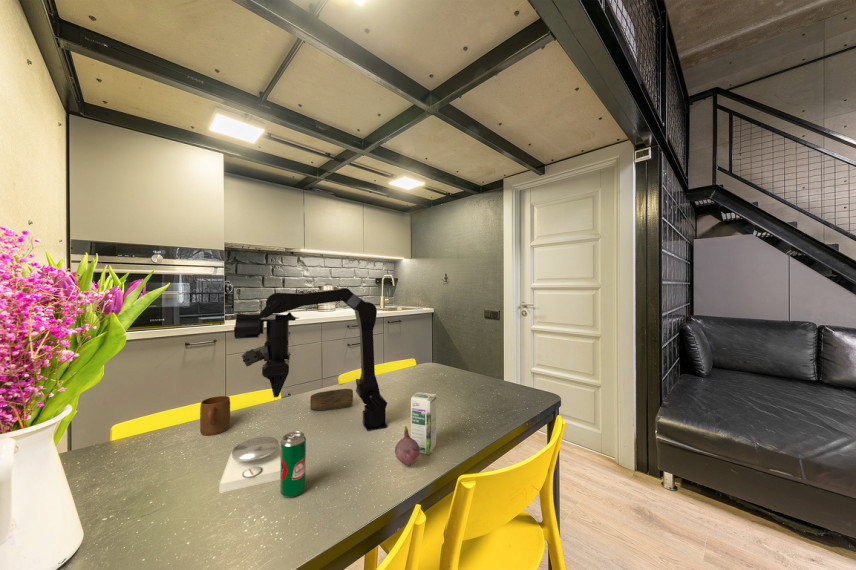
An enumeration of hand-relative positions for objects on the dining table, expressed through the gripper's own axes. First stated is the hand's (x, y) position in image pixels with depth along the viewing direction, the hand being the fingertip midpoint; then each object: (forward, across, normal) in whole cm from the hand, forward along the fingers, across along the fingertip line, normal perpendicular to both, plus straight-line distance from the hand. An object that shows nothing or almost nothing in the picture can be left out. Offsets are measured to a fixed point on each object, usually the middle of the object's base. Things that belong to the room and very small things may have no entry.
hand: (277, 391), depth 86 cm
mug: (+15, -14, -18) cm, 27 cm away
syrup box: (+15, +19, +37) cm, 44 cm away
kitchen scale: (+15, +11, -4) cm, 19 cm away
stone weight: (+15, -20, +17) cm, 30 cm away
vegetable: (+15, +25, +30) cm, 42 cm away
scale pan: (+13, +10, -4) cm, 17 cm away
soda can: (+15, +24, +4) cm, 28 cm away
